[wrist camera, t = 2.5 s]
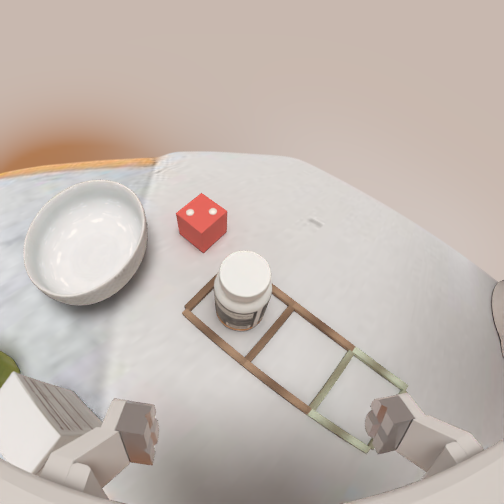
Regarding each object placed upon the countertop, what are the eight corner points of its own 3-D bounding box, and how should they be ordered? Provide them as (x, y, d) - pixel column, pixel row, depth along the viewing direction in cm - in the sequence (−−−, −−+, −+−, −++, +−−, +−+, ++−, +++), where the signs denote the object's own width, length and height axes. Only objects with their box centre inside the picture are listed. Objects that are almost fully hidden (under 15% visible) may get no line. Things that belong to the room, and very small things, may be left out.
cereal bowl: (66, 340, 31) (37, 322, 24) (37, 245, 37) (16, 217, 31) (177, 277, 37) (168, 247, 31) (129, 194, 43) (118, 161, 37)
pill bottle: (240, 279, 37) (245, 234, 29) (273, 310, 35) (290, 273, 27) (205, 308, 35) (200, 269, 26) (239, 342, 33) (245, 314, 25)
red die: (226, 231, 41) (227, 210, 37) (203, 253, 39) (201, 232, 35) (203, 214, 42) (201, 192, 38) (179, 233, 40) (175, 212, 36)
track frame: (407, 387, 31) (410, 387, 31) (367, 454, 27) (369, 454, 26) (235, 257, 39) (235, 255, 38) (180, 312, 34) (179, 310, 34)
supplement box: (82, 470, 22) (22, 485, 12) (42, 425, 24) (-24, 417, 13) (116, 433, 26) (62, 437, 15) (73, 388, 28) (11, 368, 17)
